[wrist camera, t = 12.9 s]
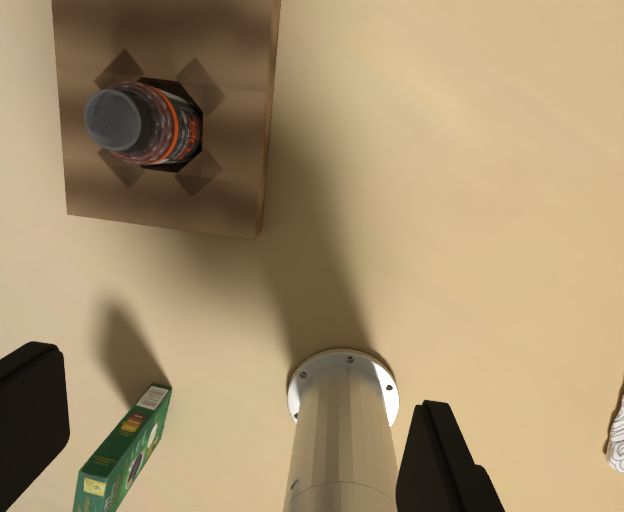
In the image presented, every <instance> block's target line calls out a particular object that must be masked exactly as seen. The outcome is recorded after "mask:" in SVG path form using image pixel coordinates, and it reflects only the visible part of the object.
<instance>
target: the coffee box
mask: <svg viewBox="0 0 624 512" xmlns="http://www.w3.org/2000/svg"><path fill="white" fill-rule="evenodd" d="M171 392H172V389H171V388H167V387H164V386H160V385H157V384H154V383H152V384H151V385H150V387H149V388H148V389H147V390H146V392H145V393H144V394H143V395H142V396H141V397H140V399H139V400H138V401H137V402H136V403H135V405H134V406H133V407H132V408H131V409H130V410H129V412H128V413H127V414H126V415H125V416H124V418H123V419H122V420H121V421H120V422H119V424H118V425H117V426H116V427H115V429H114V430H113V431H112V432H111V433H110V435H109V436H108V437H107V438H106V439H105V440H104V442H103V443H102V444H101V445H100V446H99V448H98V449H97V450H96V451H95V452H94V454H93V455H92V456H91V457H90V458H89V460H88V461H87V462H86V463H85V464H84V465H83V467H82V468H81V469H80V470H79V473H78V479H77V486H76V492H75V498H74V504H73V511H72V512H116V510H117V508H118V507H119V505H120V503H121V502H122V500H123V499H124V497H125V495H126V494H127V492H128V490H129V489H130V487H131V486H132V484H133V482H134V481H135V479H136V478H137V476H138V474H139V473H140V471H141V470H142V468H143V467H144V465H145V463H146V462H147V460H148V459H149V457H150V455H151V454H152V452H153V450H154V449H155V447H156V446H157V444H158V443H159V441H160V439H161V436H162V432H163V428H164V422H165V418H166V414H167V410H168V405H169V401H170V397H171Z"/></svg>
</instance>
